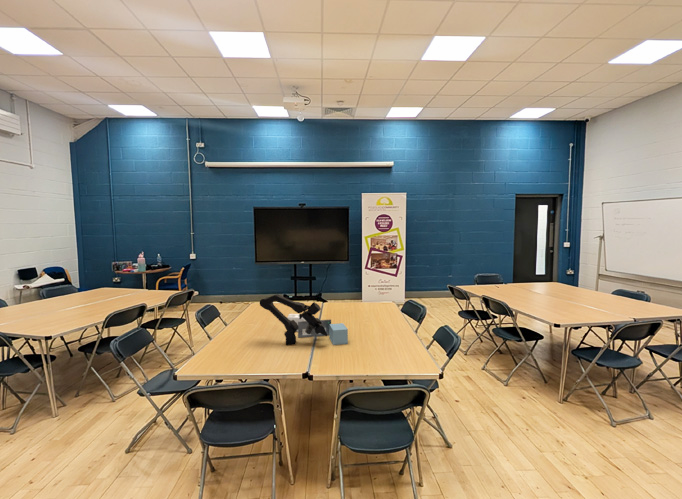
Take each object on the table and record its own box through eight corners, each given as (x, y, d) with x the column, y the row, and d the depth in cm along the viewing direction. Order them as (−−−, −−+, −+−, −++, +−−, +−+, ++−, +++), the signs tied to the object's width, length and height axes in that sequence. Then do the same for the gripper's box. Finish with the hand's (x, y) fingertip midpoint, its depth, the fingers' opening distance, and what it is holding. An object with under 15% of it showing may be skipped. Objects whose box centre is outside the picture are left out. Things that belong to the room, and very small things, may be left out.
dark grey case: (300, 348, 204) (300, 330, 203) (297, 336, 228) (297, 320, 227) (345, 344, 210) (345, 327, 210) (337, 333, 234) (337, 317, 234)
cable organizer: (284, 332, 238) (284, 317, 237) (288, 327, 248) (288, 313, 247) (304, 332, 236) (303, 317, 235) (307, 328, 246) (307, 313, 246)
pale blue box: (333, 345, 209) (333, 330, 208) (329, 337, 222) (329, 324, 222) (347, 343, 211) (347, 329, 210) (343, 336, 224) (343, 323, 224)
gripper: (299, 323, 219) (315, 337, 222) (302, 331, 201) (319, 347, 204) (311, 311, 220) (326, 326, 223) (315, 319, 202) (331, 334, 205)
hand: (325, 333), depth 214 cm, fingers open, 9 cm apart
